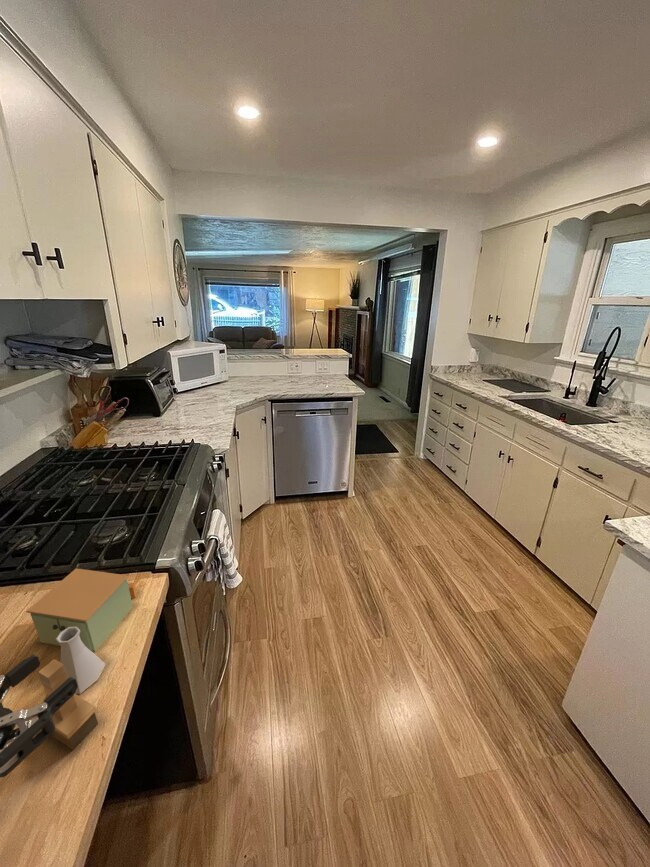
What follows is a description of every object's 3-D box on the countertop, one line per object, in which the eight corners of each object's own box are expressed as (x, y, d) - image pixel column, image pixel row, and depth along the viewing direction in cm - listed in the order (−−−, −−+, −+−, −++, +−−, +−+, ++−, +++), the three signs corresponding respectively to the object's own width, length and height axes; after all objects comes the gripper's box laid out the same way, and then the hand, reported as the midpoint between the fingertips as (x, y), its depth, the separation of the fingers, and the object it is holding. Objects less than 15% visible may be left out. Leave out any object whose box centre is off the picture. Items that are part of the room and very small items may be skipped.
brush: (72, 752, 53) (50, 692, 48) (42, 731, 55) (18, 672, 51) (100, 722, 57) (82, 664, 52) (70, 703, 59) (51, 646, 55)
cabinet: (35, 645, 69) (23, 612, 66) (84, 598, 80) (75, 568, 77) (93, 656, 67) (83, 622, 64) (135, 605, 78) (128, 575, 76)
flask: (45, 690, 61) (29, 648, 58) (82, 653, 68) (69, 613, 64) (80, 701, 60) (66, 658, 56) (113, 662, 66) (103, 621, 63)
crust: (133, 587, 80) (134, 582, 81) (119, 589, 79) (120, 584, 80) (135, 597, 81) (136, 592, 82) (121, 600, 80) (123, 595, 81)
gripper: (-82, 819, 34) (82, 670, 49) (-146, 750, 40) (19, 634, 54) (-54, 860, 37) (94, 707, 51) (-118, 790, 42) (32, 669, 56)
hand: (55, 670), depth 52 cm, fingers open, 8 cm apart
